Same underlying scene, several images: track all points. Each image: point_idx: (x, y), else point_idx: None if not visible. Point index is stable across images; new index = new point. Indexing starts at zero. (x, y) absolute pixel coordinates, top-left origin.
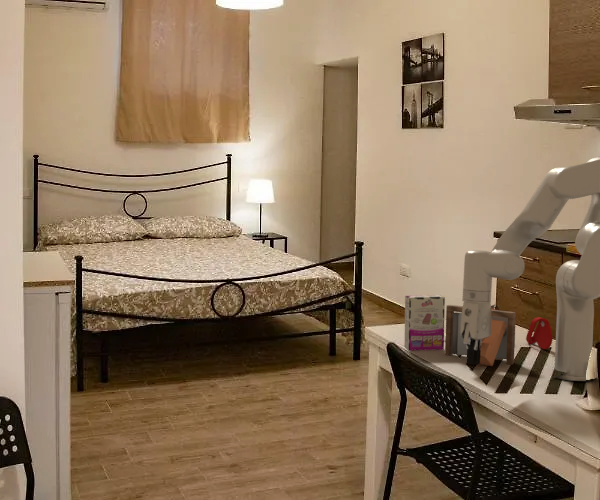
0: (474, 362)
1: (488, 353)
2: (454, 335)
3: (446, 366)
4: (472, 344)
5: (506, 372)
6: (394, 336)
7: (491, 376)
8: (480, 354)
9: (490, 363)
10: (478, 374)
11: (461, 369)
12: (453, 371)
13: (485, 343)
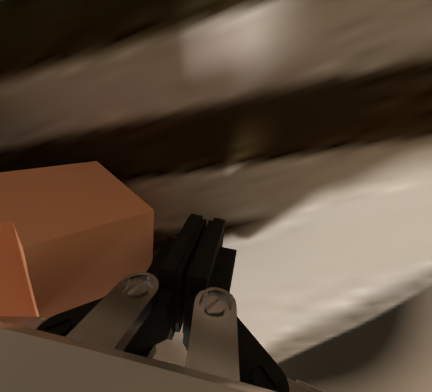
0: (222, 238)
1: (95, 206)
2: None
3: (243, 323)
4: (268, 366)
5: (190, 21)
6: None
7: (382, 68)
8: (144, 245)
9: (106, 171)
10: (354, 163)
11: (268, 265)
12: (337, 285)
13: (35, 279)
